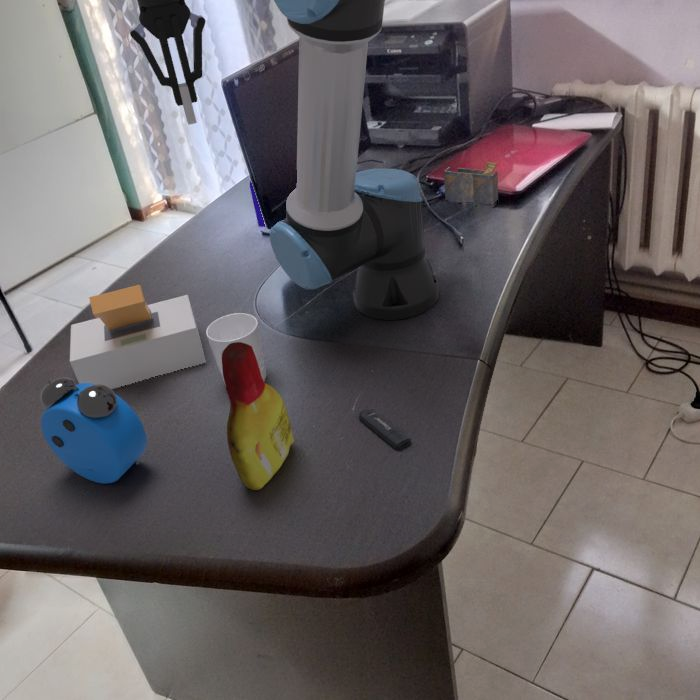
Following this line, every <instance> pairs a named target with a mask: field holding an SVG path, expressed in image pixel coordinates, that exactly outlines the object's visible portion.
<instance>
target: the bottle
mask: <svg viewBox="0 0 700 700" xmlns="http://www.w3.org/2000/svg"><path fill="white" fill-rule="evenodd" d="M222 370H223V377H224V380H223V382H224V381H225V383H224V386H225V385H226V386H225V391H226V394H227V395H228V399H229V405H230V406H229V414H228V418H227V423H226V438H227V439H226V440H227V446H228V450H229V453H230V457H231V460H232V463H233V465H234V467H235V470H236V471H237V475H238V477H239V480H240V482H241V483H242V484H243V485H244V486H245V487H246V488H247V489H250V490H253V491H258V490H261V489H262V488H264V486H265V485H267V483H269V481H270V480H271V479H273V476H275V474H276V473H277V472H278V471H279V470H280V469H281V467H282V465H283V463H284V462H285V461H286V459H287V457H288V456H289V451H290V447H291V446H292V444H293V443H294V442H295V439H294V436H293V431H292V425H291V420H290V417H289V414H288V410H287V408H286V405H285V402H284V400H283V398H282V396H281V395H280V393H278V392H277V390H276V389H275V388H274V387H273V386H271V385H270V384H268V383H266V382H265V381H263V379H262V376H261V372H260V369H259V366H258V362H257V359H256V356H255V354H254V351H253V348H252V346H250V345H248V344H245V343H242V342H235V343H231V344H229V345H228V346H227V347H226V348H225V349H224V351H223V353H222ZM223 377H222V378H223Z"/></svg>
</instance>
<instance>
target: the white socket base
mask: <svg viewBox="0 0 700 700" xmlns="http://www.w3.org/2000/svg"><path fill="white" fill-rule="evenodd" d="M147 305H148V307H149V309H150V310H151V313H152V316H153V319H152V320H148V321H144V322H140V323H136V324H133V325H129V326H125V327H121V328H118V329H114V330H110V331H109V330H108V328H107V327H106V326H105V324H104V323H103V322H102V320H101V319H100V318H96V317H95V318H92V319H89V320H85V321H82V322H78V323H73V324H71V325H70V342H69V344H70V345H69V346H70V347H69V364H70V366H71V368H72V370H73V372H74V374H75V377H76V379H77V382H78V384H80V383H92V384H96V385H104V386H107V387H109V388H110V389H111V390H115V389H118V388H121V386H122V387H126V386H129V385H133V384H136V383H139V382H138V381H140V382H143V381H142V380H144V379H147V380H150V379H149V378H151V377H154V378H156V377H155V376H158V375H161V376H164V375H163V374H165V373H169V374H171V373H170V372H172V373H174V372H173V371H176V372H178V371H177V370H179V371H181V370H180V369H183V370H185V369H184V368H187V369H189V368H188V367H190V368H193V367H192V366H194V367H197V366H200V365H199V364H201V365H203V364H202V363H205V364H207V360H206V356H205V353H204V348H202V347H203V344H202V341H201V336H200V332H199V329H198V324H197V322H196V319H195V316H194V315H195V314H194V312H193V308H192V305H191V302H190V297H189V294H184V295H181V296H177V297H174V298H170V299H165V300H161V301H159V302H154V303H151V304H147ZM196 365H197V366H196ZM165 375H166V374H165ZM158 377H159V376H158ZM151 379H152V378H151ZM144 381H145V380H144ZM135 382H136V383H135ZM132 383H133V384H132ZM125 385H126V386H125Z"/></svg>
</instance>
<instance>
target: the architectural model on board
mask: <svg viewBox="0 0 700 700" xmlns="http://www.w3.org/2000/svg"><path fill="white" fill-rule="evenodd" d="M497 164H498V161H496V162H490V161H489V160H487V162H486V163H485V170H484V169H476V168H475V169H474V168H463V167H457V171H451V166H448V167H447V168H446V169H445V170H443V183H444V196H445V197H444V199H445V200H449V201H456V202H473V203H483V204H492V205H493V204H494V203H495V202H496V201H497V200H498V201H499V181H498V180H499V178H498V177H499V176H498V174H499V172H498V171H497V170H496V171H495V169H496V167H497ZM494 171H495V172H494Z"/></svg>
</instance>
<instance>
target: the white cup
mask: <svg viewBox="0 0 700 700" xmlns="http://www.w3.org/2000/svg"><path fill="white" fill-rule="evenodd" d="M258 321H259V320H258V319H257V318H256V317H255V316H254V315H252V314H250V313H243V312H235V313H230V314H227V315H223V316H221V317H219V318H216V319H215V320H213V321H212V322H211V323H210V324H209V325H208V326H207V328H206V331H205V333H206V334H205V335H206V337H207V340H208V342H209V346H210V349H211V352H212V355H213V357H214V360H215V363H216V367H217V368H218V371H219V372H220V374H221V377H222V380H223V383H224V386H225V387H226V385H225V381H224V377H223V370H222V353H223V351H224V349H225V348H226V347H227V346H228V345H229V344H231V343H235V342H242V343H245V344H248V345H250V346H252V348H253V351H254V354H255V356H256V359H257V362H258V366H259V369H260V372H261V376H262V379H263V381H264V382H265V381H266V378H267V372H266V371H267V370H266V366H265V357H264V356H265V355H264V349H263V344H262V339H261V332H260V327H259V323H258Z"/></svg>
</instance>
